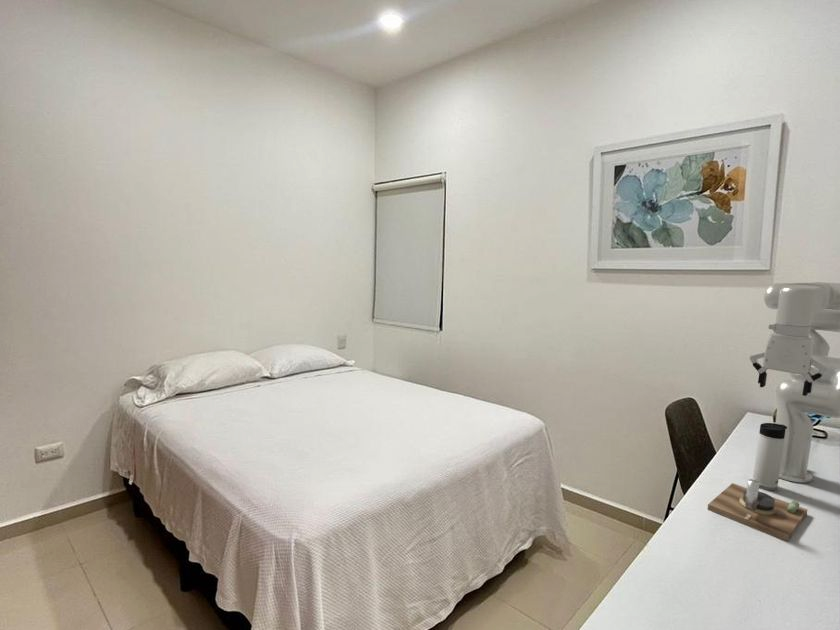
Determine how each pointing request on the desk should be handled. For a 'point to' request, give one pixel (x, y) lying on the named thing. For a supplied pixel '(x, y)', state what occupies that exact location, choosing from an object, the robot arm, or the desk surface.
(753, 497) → the grey rounded piece
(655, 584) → the desk surface
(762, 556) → the desk surface
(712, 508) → the base
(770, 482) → the travel mug
